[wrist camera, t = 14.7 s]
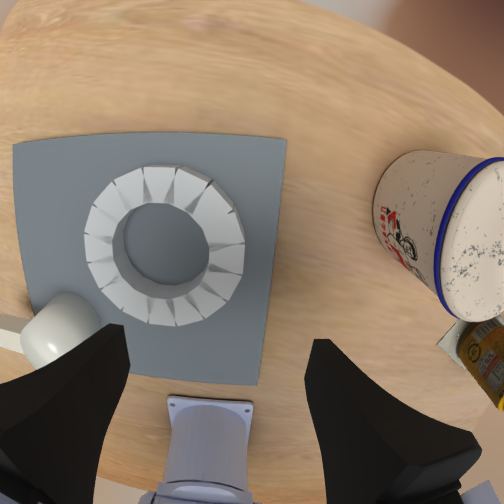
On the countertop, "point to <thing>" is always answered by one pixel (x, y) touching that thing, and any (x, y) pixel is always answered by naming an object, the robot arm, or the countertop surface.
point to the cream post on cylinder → (50, 329)
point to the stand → (157, 242)
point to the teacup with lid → (447, 227)
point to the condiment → (480, 353)
